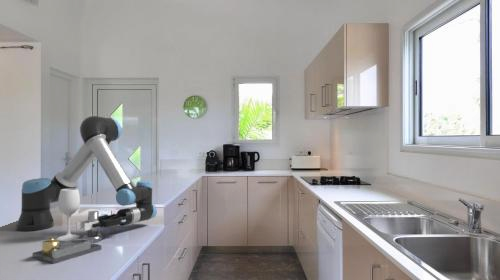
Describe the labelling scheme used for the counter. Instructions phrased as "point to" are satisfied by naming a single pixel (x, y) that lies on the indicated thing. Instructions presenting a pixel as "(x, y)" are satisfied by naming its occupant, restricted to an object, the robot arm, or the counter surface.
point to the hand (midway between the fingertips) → (80, 226)
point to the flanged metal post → (93, 233)
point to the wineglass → (68, 209)
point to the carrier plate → (49, 257)
